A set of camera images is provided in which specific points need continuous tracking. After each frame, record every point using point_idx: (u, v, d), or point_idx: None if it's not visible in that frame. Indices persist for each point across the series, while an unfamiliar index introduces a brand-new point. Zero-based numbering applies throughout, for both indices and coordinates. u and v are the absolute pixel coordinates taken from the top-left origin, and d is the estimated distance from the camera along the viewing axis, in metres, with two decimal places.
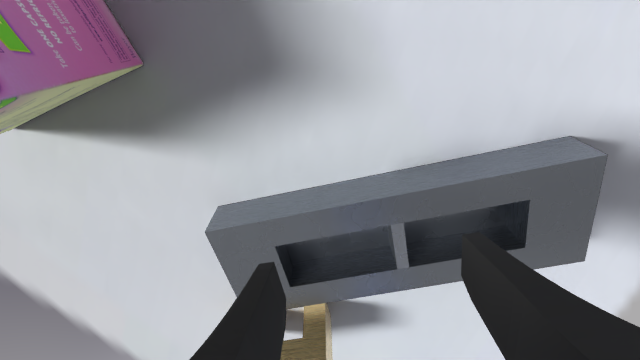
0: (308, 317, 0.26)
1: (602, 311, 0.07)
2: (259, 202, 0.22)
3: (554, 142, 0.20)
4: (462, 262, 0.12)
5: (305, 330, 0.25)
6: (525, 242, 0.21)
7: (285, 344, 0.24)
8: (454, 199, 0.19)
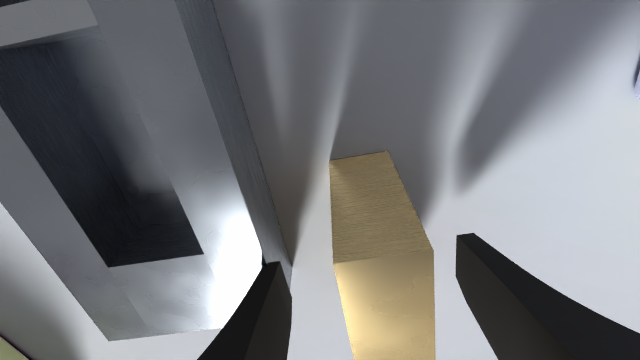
0: None
1: (592, 312, 0.07)
2: None
3: None
4: (456, 263, 0.12)
5: None
6: None
7: None
8: None
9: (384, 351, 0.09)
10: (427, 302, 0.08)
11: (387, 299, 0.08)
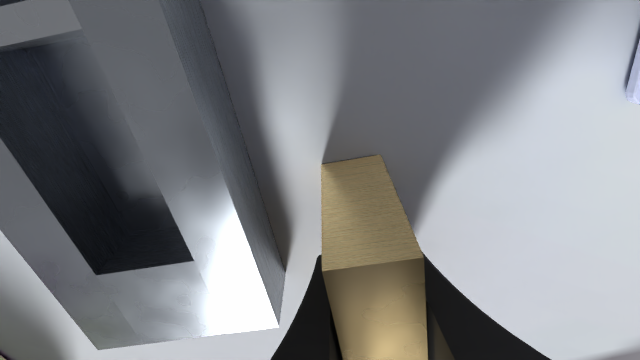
0: None
1: (495, 324, 0.07)
2: None
3: None
4: None
5: None
6: None
7: None
8: None
9: None
10: (418, 309, 0.08)
11: (378, 306, 0.08)
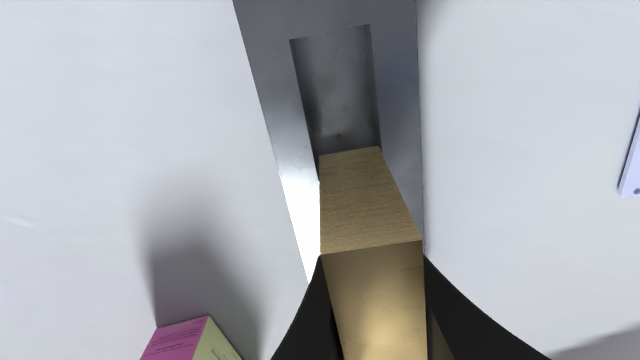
0: None
1: (495, 324, 0.07)
2: None
3: None
4: None
5: None
6: (361, 23, 0.15)
7: None
8: (289, 132, 0.17)
9: (374, 347, 0.09)
10: (417, 294, 0.08)
11: (377, 292, 0.08)
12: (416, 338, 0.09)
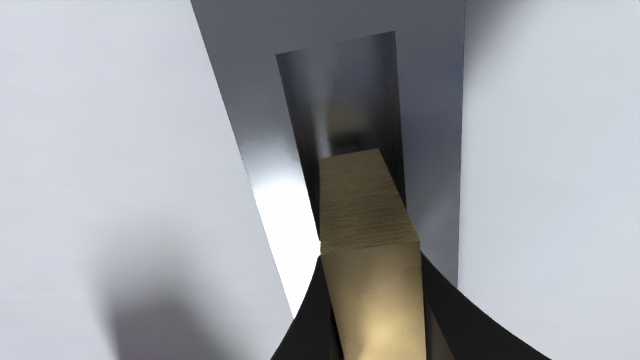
0: None
1: (495, 324, 0.07)
2: None
3: None
4: None
5: None
6: (382, 30, 0.10)
7: None
8: (278, 180, 0.12)
9: (374, 346, 0.09)
10: (416, 294, 0.08)
11: (375, 291, 0.08)
12: (415, 337, 0.09)
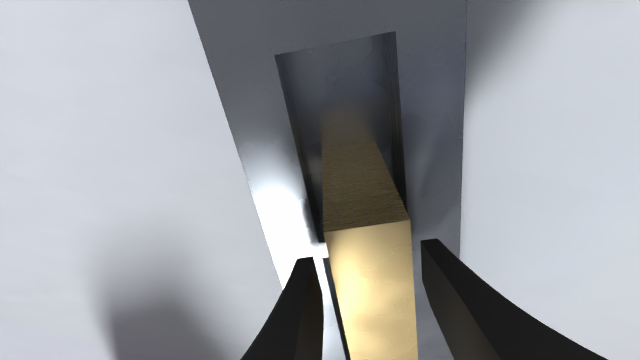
0: None
1: (533, 319, 0.07)
2: None
3: None
4: (422, 267, 0.12)
5: None
6: (383, 31, 0.10)
7: None
8: (277, 182, 0.12)
9: (370, 316, 0.10)
10: (406, 268, 0.09)
11: (371, 266, 0.09)
12: (406, 308, 0.10)
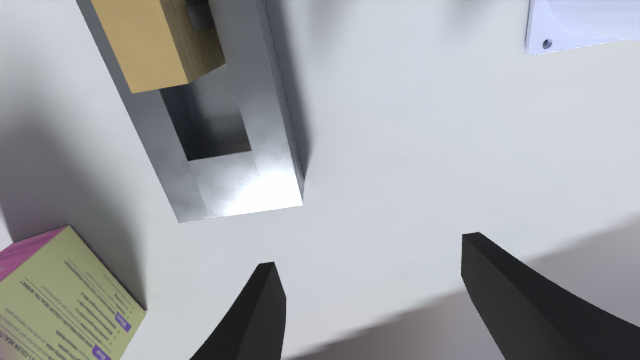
0: None
1: (602, 311, 0.07)
2: None
3: None
4: (462, 262, 0.12)
5: None
6: None
7: None
8: None
9: None
10: None
11: None
12: None
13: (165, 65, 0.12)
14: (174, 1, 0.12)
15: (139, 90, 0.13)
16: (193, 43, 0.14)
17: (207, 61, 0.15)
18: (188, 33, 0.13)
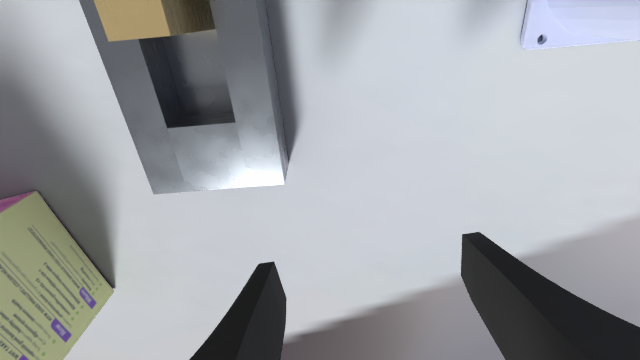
0: None
1: (602, 311, 0.07)
2: None
3: None
4: (462, 262, 0.12)
5: None
6: None
7: None
8: None
9: None
10: None
11: None
12: None
13: (146, 13, 0.12)
14: None
15: (116, 38, 0.12)
16: None
17: (194, 20, 0.14)
18: None
